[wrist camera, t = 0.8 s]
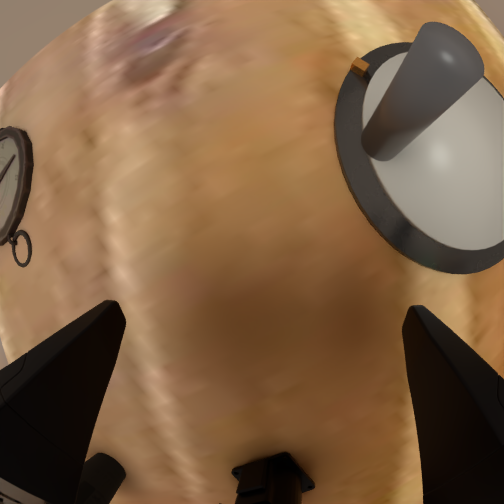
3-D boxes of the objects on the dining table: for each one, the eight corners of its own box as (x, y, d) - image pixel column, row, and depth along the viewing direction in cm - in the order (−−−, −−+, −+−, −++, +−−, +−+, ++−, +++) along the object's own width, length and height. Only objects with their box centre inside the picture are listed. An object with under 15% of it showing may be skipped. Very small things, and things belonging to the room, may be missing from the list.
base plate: (548, 201, 18) (559, 199, 16) (419, 323, 21) (429, 329, 19) (443, 30, 19) (449, 21, 17) (281, 97, 22) (280, 85, 20)
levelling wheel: (543, 191, 17) (629, 172, 4) (436, 293, 19) (552, 337, 6) (450, 40, 18) (500, -34, 5) (316, 96, 20) (328, -30, 7)
